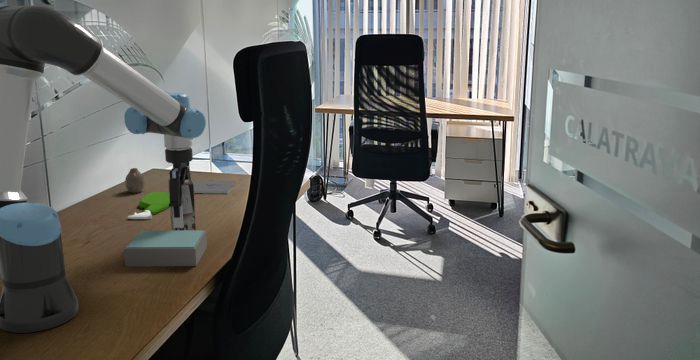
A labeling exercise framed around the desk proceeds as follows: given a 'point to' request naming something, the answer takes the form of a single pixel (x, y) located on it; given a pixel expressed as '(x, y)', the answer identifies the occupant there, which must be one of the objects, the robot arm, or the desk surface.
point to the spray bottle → (152, 205)
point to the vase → (134, 181)
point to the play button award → (213, 187)
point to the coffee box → (186, 206)
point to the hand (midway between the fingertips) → (183, 221)
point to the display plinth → (166, 248)
